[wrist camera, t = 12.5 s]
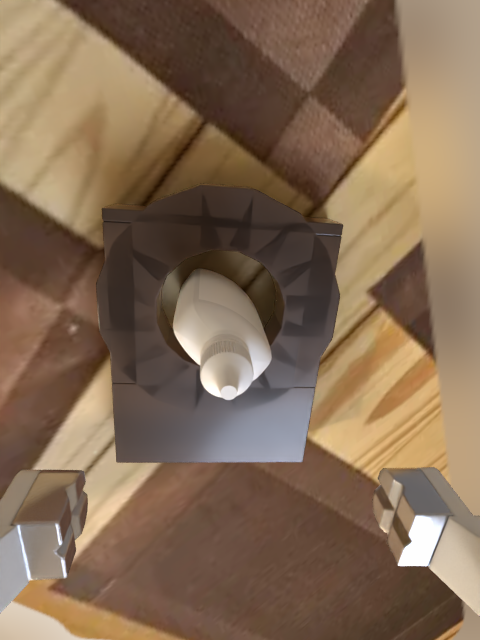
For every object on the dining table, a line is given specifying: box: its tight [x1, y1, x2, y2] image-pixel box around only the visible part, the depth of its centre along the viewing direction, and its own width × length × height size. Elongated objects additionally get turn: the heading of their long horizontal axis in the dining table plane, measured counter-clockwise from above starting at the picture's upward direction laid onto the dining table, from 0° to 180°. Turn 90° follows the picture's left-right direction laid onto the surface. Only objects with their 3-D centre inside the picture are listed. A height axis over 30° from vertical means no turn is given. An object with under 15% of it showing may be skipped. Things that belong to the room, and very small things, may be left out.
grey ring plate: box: [96, 183, 343, 463], centre depth 26 cm, size 20×15×3 cm
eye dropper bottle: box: [173, 268, 272, 400], centre depth 21 cm, size 4×6×12 cm
